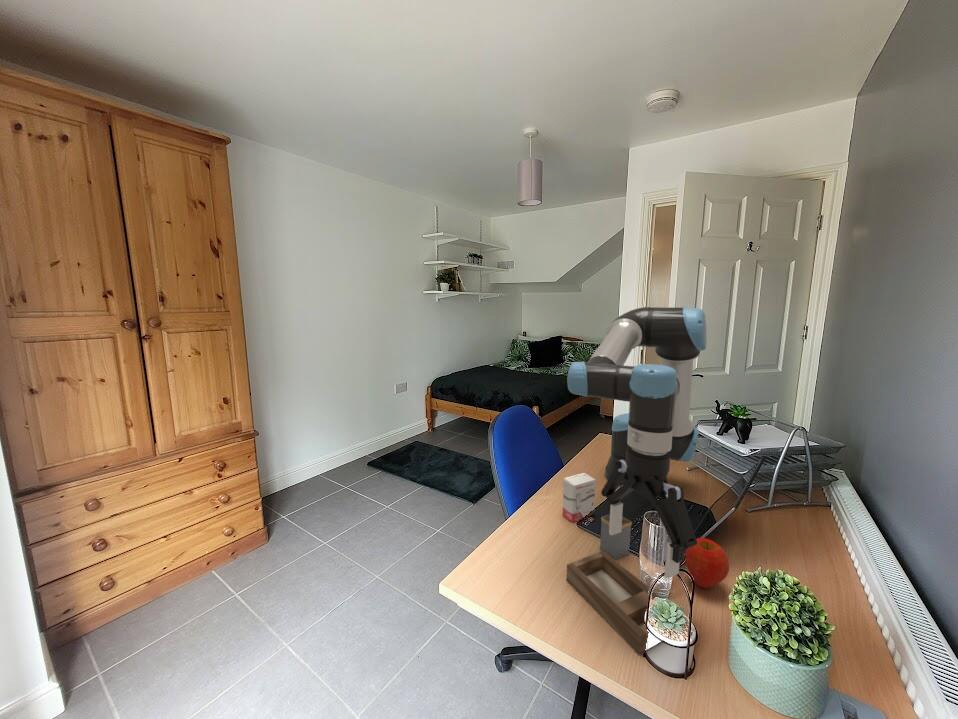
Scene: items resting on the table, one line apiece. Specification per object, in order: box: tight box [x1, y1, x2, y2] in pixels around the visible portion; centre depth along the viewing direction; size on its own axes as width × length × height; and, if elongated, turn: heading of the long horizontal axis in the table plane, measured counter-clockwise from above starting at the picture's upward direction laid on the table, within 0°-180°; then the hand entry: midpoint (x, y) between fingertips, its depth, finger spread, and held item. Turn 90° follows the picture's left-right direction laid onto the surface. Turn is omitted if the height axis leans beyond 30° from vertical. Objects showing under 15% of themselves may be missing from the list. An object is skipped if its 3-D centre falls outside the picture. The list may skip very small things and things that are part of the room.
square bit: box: [599, 514, 633, 561], centre depth 98 cm, size 5×5×9 cm
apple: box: [684, 537, 730, 589], centre depth 86 cm, size 9×8×11 cm
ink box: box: [562, 472, 597, 523], centre depth 114 cm, size 9×5×12 cm, turn 116°
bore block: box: [565, 550, 662, 656], centre depth 82 cm, size 11×21×4 cm, turn 26°
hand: (641, 552), depth 74 cm, fingers open, 13 cm apart
